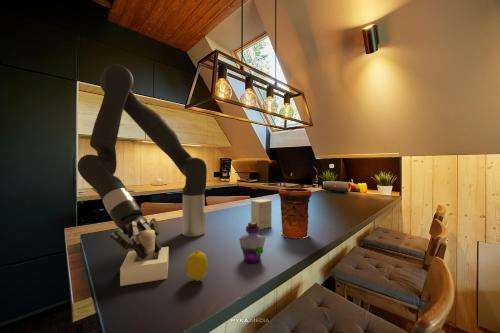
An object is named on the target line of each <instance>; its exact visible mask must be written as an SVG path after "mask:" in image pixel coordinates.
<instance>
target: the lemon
mask: <svg viewBox="0 0 500 333" xmlns="http://www.w3.org/2000/svg"><path fill="white" fill-rule="evenodd" d="M208 263H209V262H208V258H207V256H206V254H205V253H204V252H202V251H199V249H198V250H195V251H193V252H192V253H190V255H189V256H188V257H187V261H186V263H185V264H186V274H187V276H188V277H189V278H190V279H192V280H194V281H196V282H198V281H200V280H201V279H202V278H204V277H205V276H206V274H207V271H208V268H209V267H208V266H209V264H208Z"/></svg>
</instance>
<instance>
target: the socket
mask: <svg viewBox="0 0 500 333" xmlns="http://www.w3.org/2000/svg"><path fill="white" fill-rule="evenodd" d="M169 251H170V250H169V246H163V247H162V246H161V250H160V251H159V252H157V253H155V260H148V261H140V262H139V257H138V255H137V253H136V252H135V250H134V249H133V250H129V251H128V253H127V254H126V257H125V258H124V261H123V262H122V264H121V266H120V267H119V274H120V275H119V278H120V280H119V281H120V283H119V285H120V287H122V286H123V287H124V286H128V285H135V284H142V283H148V282H154V281H160V280H161V281H162V280H166V279H168V274H169V272H168V271H169V258H170V257H169Z"/></svg>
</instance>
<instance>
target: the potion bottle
mask: <svg viewBox="0 0 500 333" xmlns="http://www.w3.org/2000/svg"><path fill="white" fill-rule="evenodd" d="M245 232H246V233H247V234H245V235H241V237H240V238H239V243H240V244H239V245H240V250H242V254H243V261H244V262H245V263H247V264H253V265H255V264H259V263H260V262H261V260H262V259H261V258H262V257H261V256H262V254H263V253H264V246H265V242H266V241H265V240H266V237H265V236H263V235H261V234H258V233H260V230H259V226H257V223H256V222H251V221H250V222H248V223H247V226H246V227H245Z"/></svg>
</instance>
